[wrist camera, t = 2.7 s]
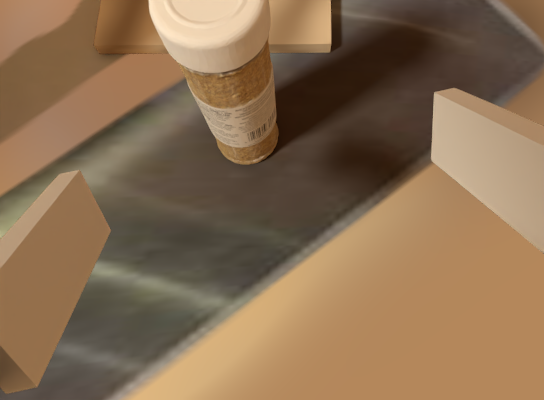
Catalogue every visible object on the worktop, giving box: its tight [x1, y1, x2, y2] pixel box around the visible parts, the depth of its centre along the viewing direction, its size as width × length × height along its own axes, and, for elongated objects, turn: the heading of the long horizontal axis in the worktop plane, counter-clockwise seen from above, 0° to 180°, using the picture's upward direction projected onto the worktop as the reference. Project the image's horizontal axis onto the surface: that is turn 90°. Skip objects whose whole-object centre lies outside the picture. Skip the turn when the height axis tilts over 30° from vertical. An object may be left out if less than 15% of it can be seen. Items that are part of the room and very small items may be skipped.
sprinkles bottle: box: [149, 0, 279, 165], centre depth 20 cm, size 5×5×13 cm
